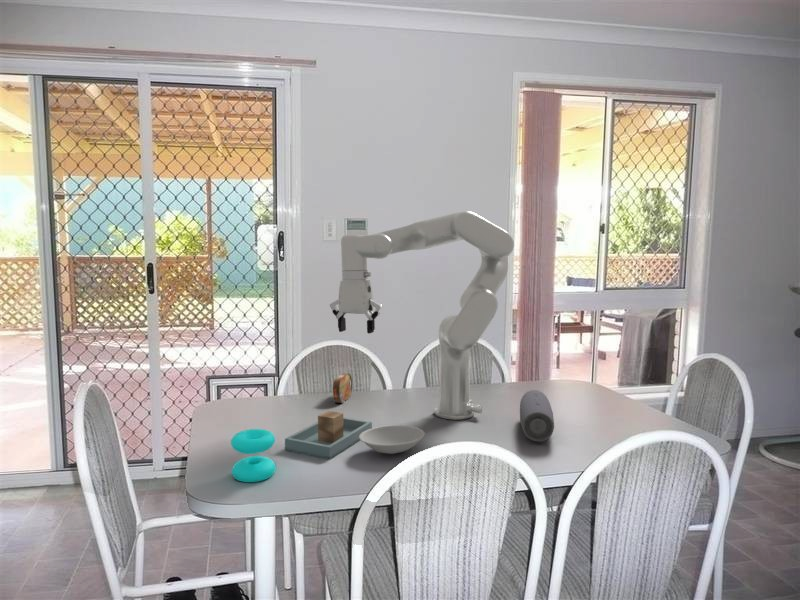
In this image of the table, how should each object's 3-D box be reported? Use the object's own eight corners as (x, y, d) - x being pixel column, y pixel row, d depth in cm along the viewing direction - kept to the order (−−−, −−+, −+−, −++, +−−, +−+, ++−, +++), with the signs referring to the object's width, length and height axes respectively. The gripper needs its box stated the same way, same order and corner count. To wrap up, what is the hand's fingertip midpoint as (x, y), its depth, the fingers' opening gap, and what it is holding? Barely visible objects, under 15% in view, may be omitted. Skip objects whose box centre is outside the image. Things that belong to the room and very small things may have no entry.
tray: (371, 432, 167) (371, 422, 166) (330, 459, 147) (330, 447, 147) (330, 425, 173) (330, 415, 172) (285, 450, 153) (284, 438, 153)
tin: (340, 406, 192) (340, 381, 191) (331, 405, 193) (331, 380, 192) (353, 394, 207) (353, 370, 206) (344, 393, 207) (344, 370, 206)
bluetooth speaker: (555, 447, 156) (556, 411, 155) (520, 445, 158) (521, 409, 157) (549, 420, 178) (550, 388, 177) (518, 418, 180) (519, 387, 179)
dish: (372, 469, 141) (372, 449, 141) (350, 449, 154) (350, 431, 153) (435, 456, 149) (435, 438, 149) (409, 439, 162) (409, 421, 161)
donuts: (282, 430, 139) (258, 444, 130) (283, 470, 140) (259, 487, 131) (247, 425, 143) (221, 438, 133) (248, 464, 144) (223, 480, 135)
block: (343, 437, 161) (343, 413, 160) (333, 443, 156) (333, 418, 156) (328, 434, 163) (328, 410, 162) (318, 440, 159) (317, 415, 158)
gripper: (385, 275, 175) (387, 331, 177) (335, 274, 182) (337, 328, 184) (375, 277, 168) (376, 335, 170) (323, 276, 175) (325, 332, 177)
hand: (356, 331), depth 177 cm, fingers open, 9 cm apart
